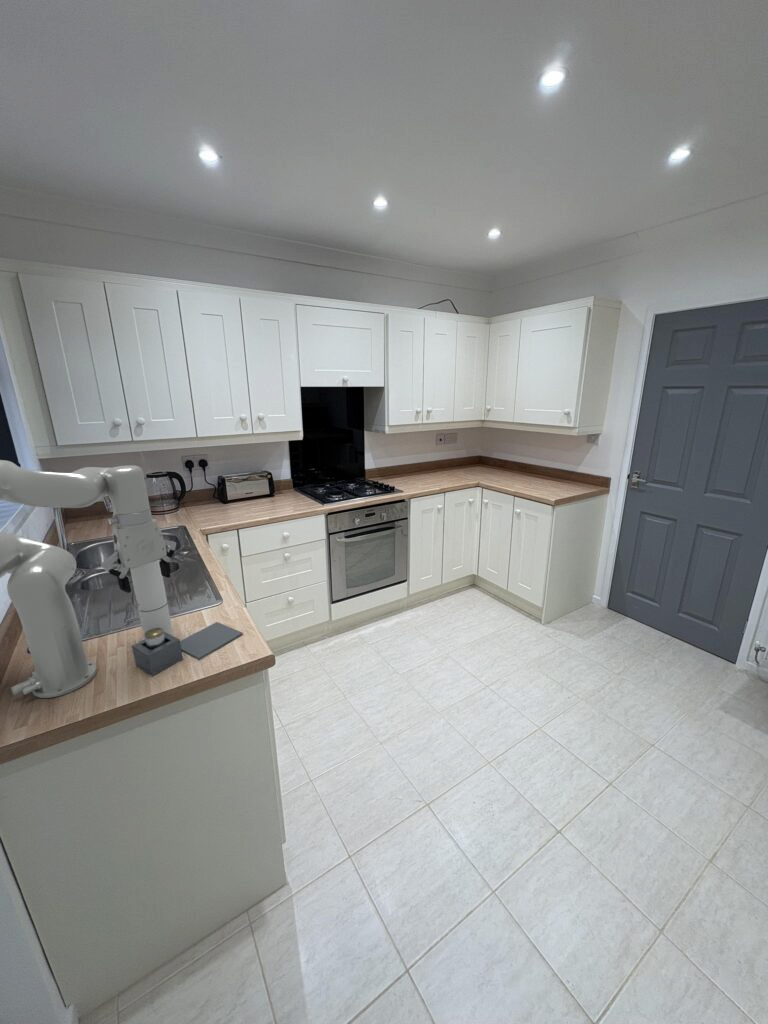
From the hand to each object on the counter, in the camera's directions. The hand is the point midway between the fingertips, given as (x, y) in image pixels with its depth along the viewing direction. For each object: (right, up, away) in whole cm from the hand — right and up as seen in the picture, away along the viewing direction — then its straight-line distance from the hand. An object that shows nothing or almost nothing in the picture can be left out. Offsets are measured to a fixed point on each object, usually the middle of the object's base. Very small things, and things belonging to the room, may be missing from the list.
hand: (147, 583), depth 101 cm
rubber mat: (+9, -19, +14) cm, 25 cm away
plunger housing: (+1, -21, +4) cm, 22 cm away
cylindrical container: (-5, -19, +15) cm, 25 cm away
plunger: (+1, -18, +3) cm, 18 cm away
